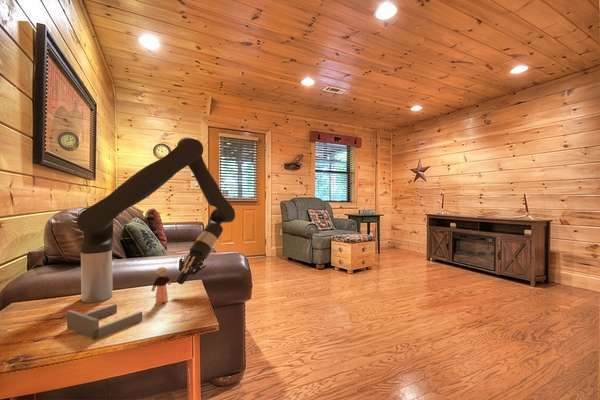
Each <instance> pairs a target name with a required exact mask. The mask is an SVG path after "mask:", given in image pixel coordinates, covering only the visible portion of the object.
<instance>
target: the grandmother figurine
mask: <svg viewBox="0 0 600 400" xmlns="http://www.w3.org/2000/svg"><path fill="white" fill-rule="evenodd" d="M167 271H168V269H167V267H165V266H159V267H158V268H157V269H156V271H155V272H156V275H157V276H158V277H157V278H156V279H155V281H154V283H153V284H152V287H151V290H150V291H151V292H155V303H154V306H157V307H159V306H162V305H163V304H167V303H168V302H169V297H168V290H167V285H168V286H170V285H171V283H172V282H171V279H170V278H169V277H168V276H166V274H167ZM155 290H156V291H155ZM166 302H167V303H166Z"/></svg>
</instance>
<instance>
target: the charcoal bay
mask: <svg viewBox="0 0 600 400" xmlns="http://www.w3.org/2000/svg"><path fill="white" fill-rule="evenodd" d="M116 313H118V305H117V304H116V303H114V304H110V305H107V306H104V307H101V308H99V309H95V310H92V311H89V312H86V313H81V312H79V311H76V310H73V309H70V310H67V311H66V324H67V325H66V328H67V330H70V331H73V332H75V333H77V334H80V335H82V336H84V337H87V338H89V339H91V340H94V341H95V340H98V339H101V338H102V337H105V336H108V335H111V334H112V333H113V334H114V333H115V332H117V331H120V330H122V329H124V328H127V327H130V326H132V325H134V324H137V323H140V322H141V321H143V311H141V310H140V311H137V312H135V313H132V314H129V315H127V316H125V317H122V318H119V319H117V320H114V321H111V322H108V323H106V324H104V325H101V326H100V324H99V323H100V321H99V319H101V318H104V317H107V316H110V315H112V314H116Z"/></svg>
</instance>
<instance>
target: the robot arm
mask: <svg viewBox="0 0 600 400" xmlns="http://www.w3.org/2000/svg"><path fill="white" fill-rule="evenodd" d="M203 154H204V146H203V143H202V142H201V141H200V140H199V139H198V138H195V137H189V136H188V137H187V136H185V137H183V138H181V139H180V140H179V141H178V142H177V145H176V146H175V148H173V149H172V150H170V151H169V153H168V154H166V155H165V156H163V157H161V158H160V159H158V160H156V161H153V162H151V163H150V164H148V165H146V166H144V167H142V168H141V169H139V171H137V172H136V173H134V174H133V175H131V176H130V177H129V178H127V179H126V181H123V182H122V184H120V185H119V186H118V187H116V188H115V189H114V190H113V191H112V192H111V193H109V194H108V195H107V196H106V197H104V198H102V199H101V200H98V201H97V202H95V203H94V204H92V205H90V206H89V207H87V208H85V209H84V210H81V212H80V213H79V215H78V216H77V219H76V227H77V228H78V230H79V231H80V232H83V240H82V243H81V244H80V287H81V288H80V292H81V293H80V295H81V299H80V300H81V302H82V303H90V304H91V303H97V302H101V301H106V300H108V299H110V298H112V297H113V294H114V293H113V247H112V246H113V241H114V220H115V219H116V218H117V217H118V216H119V215H120V214H122V213H123V212H124V211H126V210H127V209H129V208H131V207H133V206H135V205H137V204H138V203H140V202H141V201H143V200H145V199H147V198H148V197H150V196H151V195H152V194H153V193H155V192H156V191H157V190H158V189H159V190H160V188H161V187H162V186H163V185H165V184H166V183H167V182H169V180H171V179H172V178H173V177H174V176H175V175H176V174H177V173H179V172H180V171H181V170H183V169H184V168H186V167H188V168H189V169H190V171H191V173H192V175H193V177H194V178H195V180H196V182H197V184H198V186H199V188H200V190H201V192H202V194H203V196H204V198H205V200H206V202H207V203H208V205H209V206H211V207H215V208H214V209H213V211H211V212H210V213H211V214H210V216H209V218H208V221H207V225H206V226H205V227H204V229H203V230H202V232H201V233H200V234H199V235H198V236H197V238H196V240H195V241H194V243H193V244H192V245H191V246H190V248H189V253H188V254H187V255H186V257H184V259H183V258H180V259H179V260H178V271H180V274H179V276H178V277H177V278H176V283H177V284H179V285H183V284H184V283H185V282H186V280H187V279H188V277H190V276H195V275H196V274H197V273H199V272H200V271H202V270H203V269H205V268H206V266H207V264H205V263H204V262H205V260H206V259H208V257H209V256H210V254H211V252H212V250H213V249H214V247H215V246H216V244H217V242H218V240H219V238H220V236H221V235H222V233H223V231H224V230H223V229H224V228H223V226H222V224H223V223H225V224H226V223H232V222H234V220H235V219H236V212H235V209H234V207H233V206H232V204H231V203H230V201H228V199H227V198H225V196H224V195H223V193H222V191H221V188H220V186H219V185H218V183H217V181H216V179H215V178H214V177H213V175H212V173H211V172H210V171H209V168H208V167H207V165H206V163H205V161H204V158H203Z"/></svg>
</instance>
